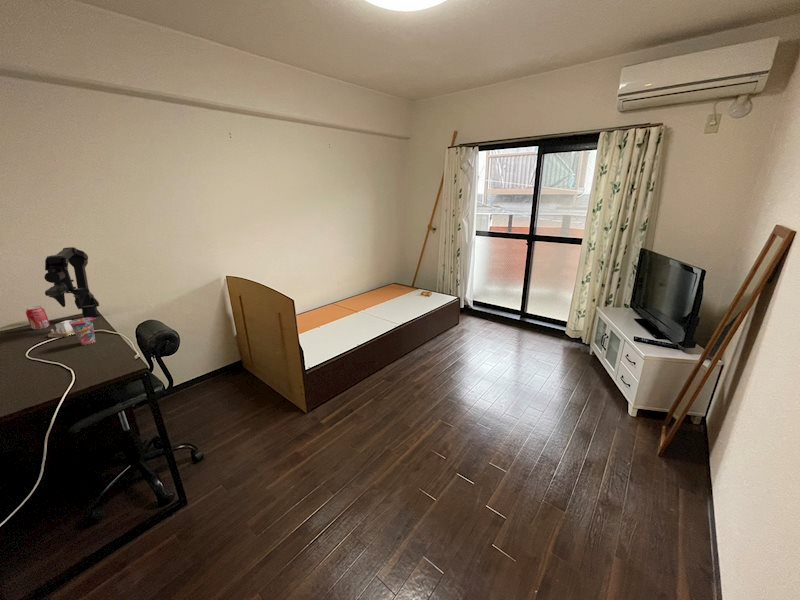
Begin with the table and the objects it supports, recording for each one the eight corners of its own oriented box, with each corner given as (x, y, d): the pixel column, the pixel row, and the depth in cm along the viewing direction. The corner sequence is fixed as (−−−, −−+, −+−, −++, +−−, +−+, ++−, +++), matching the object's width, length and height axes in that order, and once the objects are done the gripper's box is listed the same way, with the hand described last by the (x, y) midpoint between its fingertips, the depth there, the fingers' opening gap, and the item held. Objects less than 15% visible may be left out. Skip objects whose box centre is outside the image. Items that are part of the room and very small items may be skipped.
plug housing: (69, 330, 175) (66, 319, 173) (78, 330, 175) (74, 319, 173) (58, 335, 169) (54, 323, 167) (67, 334, 169) (63, 323, 167)
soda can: (36, 327, 181) (28, 306, 178) (53, 324, 184) (45, 305, 181) (29, 331, 175) (21, 310, 172) (46, 328, 178) (38, 308, 175)
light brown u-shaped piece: (66, 330, 175) (63, 323, 174) (83, 329, 176) (81, 323, 174) (48, 337, 166) (45, 330, 165) (67, 336, 167) (64, 329, 165)
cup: (78, 348, 153) (70, 324, 149) (75, 343, 158) (67, 321, 154) (104, 341, 160) (96, 318, 156) (99, 337, 165) (92, 315, 161)
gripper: (29, 283, 164) (40, 311, 169) (66, 282, 164) (76, 310, 169) (51, 278, 175) (60, 305, 179) (86, 277, 175) (94, 304, 180)
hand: (72, 306), depth 177 cm, fingers open, 9 cm apart
